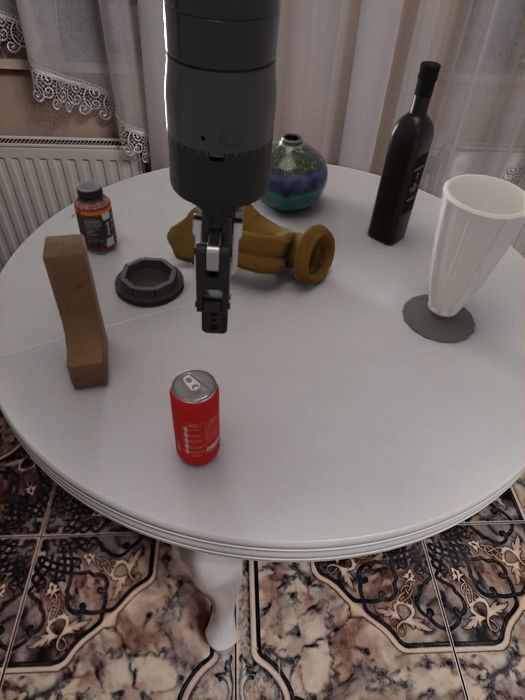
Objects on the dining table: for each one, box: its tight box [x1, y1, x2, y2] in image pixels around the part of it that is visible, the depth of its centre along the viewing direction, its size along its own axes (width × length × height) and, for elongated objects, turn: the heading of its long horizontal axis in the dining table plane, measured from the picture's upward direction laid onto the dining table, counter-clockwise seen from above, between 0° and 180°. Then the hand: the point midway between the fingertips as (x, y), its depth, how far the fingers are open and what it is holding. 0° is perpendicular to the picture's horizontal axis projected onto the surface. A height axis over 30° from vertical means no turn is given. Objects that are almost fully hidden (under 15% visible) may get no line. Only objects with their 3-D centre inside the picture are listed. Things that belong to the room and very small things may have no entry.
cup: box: [402, 173, 525, 344], centre depth 74 cm, size 12×12×22 cm
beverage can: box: [168, 368, 221, 467], centre depth 57 cm, size 5×5×12 cm
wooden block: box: [42, 233, 109, 390], centre depth 64 cm, size 9×4×18 cm, turn 12°
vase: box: [259, 132, 329, 212], centre depth 100 cm, size 15×15×13 cm
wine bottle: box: [367, 60, 442, 246], centre depth 87 cm, size 6×6×30 cm
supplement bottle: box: [73, 179, 118, 254], centre depth 86 cm, size 6×6×11 cm
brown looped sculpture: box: [166, 204, 336, 285], centre depth 84 cm, size 18×13×22 cm
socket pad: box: [114, 256, 185, 308], centre depth 82 cm, size 11×11×2 cm
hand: (218, 298), depth 47 cm, fingers open, 8 cm apart
